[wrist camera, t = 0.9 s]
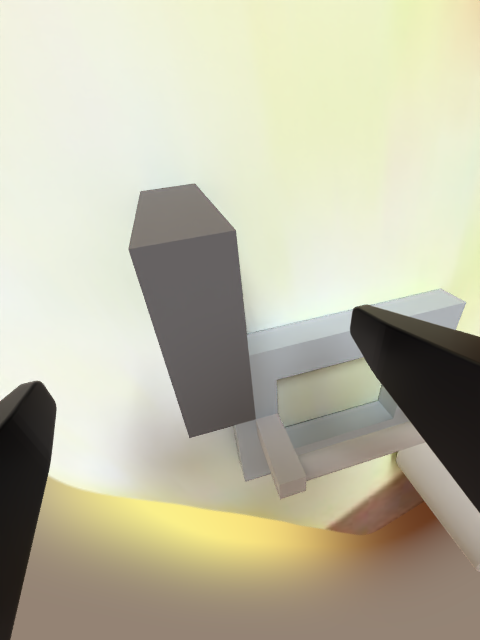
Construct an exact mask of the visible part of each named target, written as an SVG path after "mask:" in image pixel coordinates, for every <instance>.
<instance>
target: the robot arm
mask: <svg viewBox="0 0 480 640" xmlns="http://www.w3.org/2000/svg"><path fill="white" fill-rule="evenodd" d="M350 334H351V336H352V338H353V340H354V342H355V343H356V345H357V347H358V348H359V350H360V352H361V353H362V355H363V357H364V358H365V360H366V361H367V363H368V365H369V366H370V368H371V370H372V371H373V373H374V374H375V376H376V377H377V379H378V380H379V381H380V383H381V384H382V385H383V387H384V388H385V389H386V391H387V392H388V393H389V395H390V396H391V397H392V399H393V400H394V401H395V402H396V404H397V405H398V406H399V408H400V409H401V410H402V412H403V413H404V414H405V416H406V417H407V418H408V420H409V421H410V422H411V424H412V425H413V426H414V428H415V429H416V430H417V431H418V433H419V434H420V435H421V437H422V438H423V439H424V441H425V442H426V443H427V445H428V446H429V447H430V449H431V450H432V451H433V453H434V454H435V455H436V456H437V458H438V459H439V460H440V462H441V463H442V464H443V466H444V467H445V468H446V470H447V471H448V472H449V474H450V475H451V476H452V478H453V479H454V480H455V482H456V483H457V484H458V485H459V487H460V488H461V489H462V491H463V492H464V493H465V495H466V496H467V497H468V499H469V500H470V501H471V503H472V504H473V505H474V507H475V508H476V509H477V510H478V512H479V513H480V337H478V336H475V335H471V334H468V333H464V332H461V331H457V330H454V329H451V328H447V327H444V326H440V325H437V324H433V323H430V322H426V321H423V320H419V319H416V318H412V317H409V316H405V315H402V314H399V313H395V312H392V311H388V310H385V309H381V308H378V307H374V306H371V305H362V306H357V307H355V308H354V309H353V311H352V317H351V324H350ZM55 419H56V403H55V401H54V399H53V398H52V396H51V395H50V393H49V392H48V390H47V389H46V387H45V386H44V384H43V383H42V382H40V381H33V382H28V383H24V384H21V385H20V386H18V387H17V388H16V389H15V390H13V391H12V392H11V393H10V394H9V395H7V396H6V397H5V398H4V399H2V400H1V401H0V640H10V638H11V634H12V630H13V625H14V621H15V616H16V612H17V608H18V603H19V599H20V595H21V590H22V585H23V582H24V577H25V573H26V569H27V564H28V560H29V556H30V551H31V547H32V543H33V538H34V533H35V529H36V525H37V521H38V516H39V512H40V508H41V503H42V499H43V494H44V490H45V486H46V481H47V477H48V473H49V468H50V462H51V455H52V447H53V437H54V428H55Z"/></svg>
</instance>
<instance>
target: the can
mask: <svg viewBox="0 0 480 640" xmlns="http://www.w3.org/2000/svg"><path fill="white" fill-rule="evenodd" d="M397 452H398V453H397V458H396V462H397V465H398V466H399V467H400V469H401V470H402V471H403V473H404V474H405V476H406V477H407V478H408V480H409V481H410V482H411V484H412V485H413V486H414V488H415V489H416V490H417V492H418V493H419V494H420V496H421V497H422V498H423V500H424V501H425V502H426V504H427V505H428V506H429V508H430V509H431V510H432V512H433V513H434V515H435V516H436V517H437V519H438V520H439V521H440V523H441V524H442V525H443V527H444V528H445V529H446V531H447V532H448V533H449V535H450V536H451V537H452V538H453V540H454V541H455V543H456V544H457V545H458V547H459V548H460V550H461V551H462V552H463V553H464V555H465V556H466V558H467V559H468V560H469V562H470V563H471V564H472V566H473V567H474V568H475V569H476V571H478V572H480V513H479V512H478V510H477V509H476V508H475V507H474V505H473V504H472V503H471V501H470V500H469V499H468V497H467V496H466V495H465V493H464V492H463V491H462V489H461V488H460V487H459V485H458V484H457V483H456V482H455V480H454V479H453V478H452V476H451V475H450V474H449V472H448V471H447V470H446V468H445V467H444V466H443V464H442V463H441V462H440V460H439V459H438V458H437V456H436V455H435V454H434V453H433V451H432V450H431V449H430V447H429V446H428V445H427V443H426V442H425V443H422V444H419V445H416V446H413V447H409V448H406V449H403V450H400V451H397Z"/></svg>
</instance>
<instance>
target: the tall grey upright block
mask: <svg viewBox="0 0 480 640" xmlns="http://www.w3.org/2000/svg"><path fill="white" fill-rule="evenodd" d="M129 252H130V255H131V259H132V262H133V265H134V268H135V271H136V274H137V277H138V280H139V283H140V286H141V289H142V292H143V296H144V299H145V302H146V305H147V308H148V311H149V314H150V317H151V320H152V323H153V326H154V330H155V333H156V336H157V339H158V342H159V345H160V348H161V351H162V354H163V357H164V360H165V364H166V367H167V370H168V373H169V376H170V379H171V382H172V385H173V388H174V391H175V394H176V397H177V401H178V404H179V407H180V410H181V413H182V416H183V419H184V422H185V425H186V428H187V431H188V435H189V438H191V437H195V436H199V435H202V434H206V433H209V432H213V431H216V430H220V429H223V428H227V427H230V426H234V425H238V424H241V423H245V422H248V421H252V420H255V419H256V415H255V406H254V397H253V387H252V378H251V369H250V359H249V350H248V340H247V331H246V322H245V312H244V303H243V294H242V284H241V275H240V265H239V256H238V247H237V237H236V230H235V229H234V228H233V227H232V225H231V224H230V223H229V222H228V221H227V220H226V219H225V217H224V216H223V215H222V214H221V213H220V212H219V211H218V209H217V208H216V207H215V206H214V205H213V204H212V203H211V201H210V200H209V199H208V198H207V197H206V196H205V195H204V193H203V192H202V191H201V190H200V189H199V188H198V187H197V185H196V184H189V185H182V186H175V187H168V188H161V189H155V190H148V191H141V192H140V196H139V201H138V206H137V210H136V215H135V220H134V225H133V230H132V235H131V239H130V244H129Z"/></svg>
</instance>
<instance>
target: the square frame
mask: <svg viewBox="0 0 480 640" xmlns="http://www.w3.org/2000/svg"><path fill="white" fill-rule="evenodd" d="M465 304H466V302H465V301H463V300H461V299H459V298H457V297H456V296H454V295H452V294H450V293H448V292H446V291H444V290H442V289H438V290H434V291H429V292H425V293H421V294H416V295H412V296H408V297H404V298H399V299H395V300H391V301H387V302H382V303H378V304H374V305H371V306H374V307H378V308H381V309H385V310H388V311H392V312H395V313H399V314H402V315H405V316H409V317H412V318H416V319H419V320H423V321H426V322H430V323H433V324H437V325H440V326H444V327H447V328H451V329H454V330H456V327H457V325H458V322H459V320H460V317H461V314H462V312H463V309H464V307H465ZM352 311H353V309H352V310H348V311H344V312H340V313H335V314H331V315H327V316H322V317H318V318H314V319H310V320H305V321H301V322H297V323H293V324H288V325H284V326H280V327H275V328H271V329H267V330H263V331H258V332H254V333H250V334H247V340H248V350H249V359H250V369H251V378H252V387H253V397H254V406H255V415H256V419H255V420H252V421H248V422H245V423H241V424H238V425H234V432H235V438H236V443H237V449H238V455H239V460H240V464H241V467H242V471H243V475H244V478H245V481H249V480H252V479H255V478H258V477H261V476H265V475H268V474H272V477H273V480H274V483H275V486H276V489H277V491H278V494H279V497H280V499H282V498H285V497H288V496H291V495H294V494H297V493H300V492H303V491H306V481H308V480H311V479H314V478H317V477H320V476H323V475H326V474H329V473H332V472H336V471H339V470H342V469H345V468H348V467H351V466H354V465H357V464H360V463H363V462H366V461H369V460H372V459H376V458H379V457H382V456H385V455H388V454H391V453H394V452H397V451H400V450H403V449H406V448H409V447H413V446H416V445H419V444H422V443H425V441H424V439H423V438H422V437H421V435H420V434H419V433H418V431H417V430H416V429H415V428H414V426H413V425H412V424H411V422H410V421H409V420H408V418H407V417H406V416H405V414H404V413H403V412H402V410H401V409H400V408H399V406H398V405H397V404H396V402H395V401H394V400H393V399H392V397H391V396H390V395H389V393H388V392H387V391H386V389H385V388H384V387H383V385H382V387H381V391H380V395H379V399H378V401H375V402H371V403H368V404H365V405H361V406H358V407H354V408H351V409H347V410H344V411H341V412H337V413H334V414H330V415H327V416H323V417H320V418H316V419H313V420H310V421H306V422H303V423H299V424H296V425H292V426H289V427H286V428H285V427H284V425H283V423H282V421H281V419H280V416H279V414H278V399H277V380H278V379H282V378H286V377H290V376H294V375H297V374H301V373H305V372H309V371H313V370H316V369H320V368H324V367H328V366H332V365H335V364H339V363H343V362H347V361H351V360H354V359H358V358H362V357H363V355H362V353H361V352H360V350H359V348H358V347H357V345H356V343H355V342H354V340H353V338H352V336H351V334H350V324H351V317H352Z"/></svg>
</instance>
